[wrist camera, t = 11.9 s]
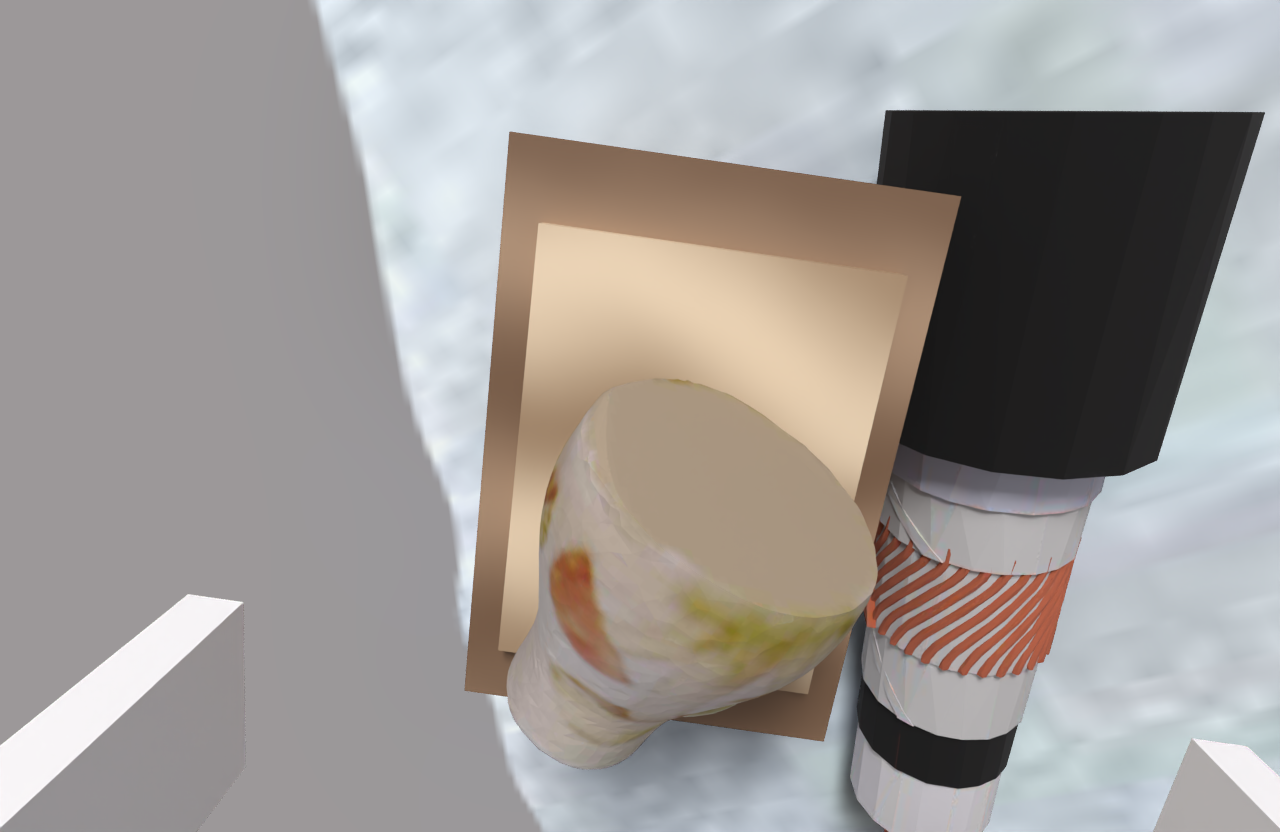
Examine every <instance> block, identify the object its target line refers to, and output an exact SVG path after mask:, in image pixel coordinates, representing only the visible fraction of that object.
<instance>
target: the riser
mask: <svg viewBox="0 0 1280 832" xmlns="http://www.w3.org/2000/svg"><path fill="white" fill-rule="evenodd" d="M960 200H961V196H955V195H948V194H941V193H934V192H927V191H920V190H913V189H906V188H899V187H892V186H885V185H878V184H871V183H864V182H857V181H850V180H843V179H836V178H829V177H822V176H815V175H809V174H802V173H795V172H788V171H781V170H774V169H767V168H760V167H753V166H746V165H739V164H732V163H725V162H718V161H711V160H704V159H697V158H690V157H683V156H676V155H669V154H662V153H655V152H648V151H641V150H634V149H627V148H620V147H613V146H606V145H600V144H593V143H586V142H579V141H572V140H565V139H558V138H551V137H544V136H537V135H530V134H523V133H516V132H509V145H508V157H507V169H506V182H505V194H504V207H503V219H502V232H501V244H500V256H499V269H498V281H497V294H496V306H495V319H494V331H493V343H492V356H491V368H490V381H489V393H488V406H487V418H486V430H485V443H484V455H483V468H482V480H481V493H480V505H479V517H478V530H477V542H476V555H475V567H474V580H473V592H472V604H471V617H470V629H469V642H468V654H467V667H466V679H465V691H471V692H478V693H485V694H492V695H499V696H506V697H508V695H507V676H508V670H509V667H510V665H511V662H512V660H513V658H514V656H515V654H516V652H517V650H518V648H519V647H520V645H521V644H522V642H523V641H524V639H525V638H526V636H527V635H528V633H529V631H530V629H531V627H532V625H533V624H534V621H535V618H536V615H537V612H538V604H539V535H540V522H541V515H542V509H543V504H544V499H545V495H546V490H547V487H548V483H549V480H550V477H551V474H552V471H553V469H554V466H555V464H556V461H557V459H558V457H559V455H560V453H561V451H562V449H563V447H564V446H565V444H566V442H567V441H568V439H569V437H570V436H571V434H572V433H573V432H574V430H575V429H576V427H577V426H578V425H579V423H580V422H581V420H582V419H583V417H584V416H585V414H586V413H587V411H588V410H589V409H590V408H591V406H592V405H593V404H594V403H595V401H596V400H597V399H598V398H599V397H600V396H601V395H602V394H603V393H604V392H605V391H607V390H609V389H611V388H612V387H616V386H620V385H624V384H627V383H631V382H636V381H643V380H649V379H655V378H662V379H679V380H682V381H686V380H689V381H691V382H692V383H697V384H702V385H705V386H707V387H710V388H713V389H716V390H718V391H721V392H724V393H727V394H729V395H731V396H733V397H735V398H737V399H738V400H740V401H742V402H744V403H745V404H747V405H749V406H750V407H752V408H754V409H755V410H757V411H758V412H760V413H761V414H763V415H764V416H766V417H767V418H768V419H770V420H771V421H772V422H773V423H775V424H776V425H777V426H778V427H780V428H781V429H782V430H784V431H785V432H786V433H788V434H789V435H791V436H792V437H794V438H795V439H797V440H798V441H799V442H801V443H802V444H803V445H805V446H806V447H807V448H808V450H809V451H811V452H812V453H813V454H814V455H815V456H816V457H817V458H818V459H819V460H820V461H821V462H822V463H823V464H824V465H825V466H826V467H827V468H828V469H829V470H830V471H831V472H832V474H833V475H834V476H835V478H836V479H837V480H838V482H839V483H840V484H841V486H842V487H843V488H844V489H845V490H846V492H847V493H848V494H849V496H850V497H851V498H852V499H853V501H854V502H855V503H856V504H857V506H858V507H859V509H860V511H861V513H862V515H863V517H864V519H865V522H866V524H867V527H868V529H869V531H870V534H871V537H872V540H873V543H874V540H875V536H876V532H877V528H878V524H879V520H880V516H881V512H882V508H883V504H884V500H885V497H886V493H887V489H888V485H889V481H890V477H891V473H892V469H893V465H894V461H895V457H896V453H897V449H898V445H899V441H900V437H901V433H902V429H903V425H904V421H905V417H906V413H907V409H908V405H909V401H910V398H911V394H912V390H913V386H914V382H915V378H916V374H917V370H918V366H919V362H920V358H921V354H922V350H923V346H924V342H925V338H926V334H927V330H928V326H929V322H930V318H931V314H932V310H933V306H934V302H935V299H936V295H937V291H938V287H939V283H940V279H941V275H942V271H943V267H944V263H945V259H946V255H947V251H948V247H949V243H950V239H951V235H952V231H953V227H954V223H955V219H956V215H957V211H958V207H959V204H960ZM851 631H852V629H851ZM851 631H850V632H849V633H848V634H847V636H846V637H845V638H844V639H843V640H842V642H841V643H840V644H839V645H838V646H837V647H836V648H835V649H834V650H833V651H832V652H831V653H830V654H829V655H828V656H827V657H826V658H825V659H824V660H823V661H821V662H820V663H819V664H818V665H817V666H816V667H815V668H814V669H812V670H811V671H809V672H808V673H806V674H805V675H803V676H802V677H800V678H798V679H797V680H795V681H793V682H791V683H789V684H788V685H786V686H784V687H782V688H780V689H778V690H776V691H773V692H771V693H768V694H766V695H763V696H761V697H758V698H755V699H751V700H748V701H744V702H741V703H737V704H736V705H734V706H732V707H730V708H728V709H725V710H722V711H720V712H717V713H714V714H709V715H702V716H694V717H679V718H675V719H671V720H676V721H683V722H690V723H697V724H704V725H711V726H718V727H725V728H732V729H739V730H746V731H753V732H760V733H767V734H774V735H782V736H789V737H796V738H803V739H810V740H817V741H824V738H825V734H826V730H827V726H828V722H829V718H830V714H831V710H832V706H833V702H834V698H835V695H836V691H837V687H838V683H839V679H840V675H841V671H842V667H843V663H844V659H845V655H846V651H847V647H848V643H849V639H850V635H851Z"/></svg>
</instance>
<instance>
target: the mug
mask: <svg viewBox="0 0 1280 832" xmlns="http://www.w3.org/2000/svg"><path fill="white" fill-rule="evenodd" d="M877 575H878V569H877V562H876V552H875V546H874V543H873V540H872V537H871V534H870V531H869V529H868V527H867V524H866V522H865V519H864V517H863V515H862V513H861V511H860V509H859V507H858V506H857V504H856V503H855V502H854V501H853V499H852V498H851V497H850V496H849V494H848V493H847V492H846V490H845V489H844V488H843V487H842V486H841V484H840V483H839V482H838V480H837V479H836V478H835V476H834V475H833V474H832V472H831V471H830V470H829V469H828V468H827V467H826V466H825V465H824V464H823V463H822V462H821V461H820V460H819V459H818V458H817V457H816V456H815V455H814V454H813V453H812V452H811V451H809V450H808V448H807V447H806V446H805V445H803V444H802V443H801V442H799V441H798V440H797V439H795V438H794V437H792V436H791V435H789V434H788V433H786V432H785V431H784V430H782V429H781V428H780V427H778V426H777V425H776V424H775V423H773V422H772V421H771V420H770V419H768V418H767V417H766V416H764V415H763V414H761V413H760V412H758V411H757V410H755V409H754V408H752V407H750V406H749V405H747V404H745V403H744V402H742V401H740V400H738V399H737V398H735V397H733V396H731V395H729V394H727V393H724V392H721V391H718V390H716V389H713V388H710V387H707V386H705V385H702V384H697V383H692V382H691V381H689V380H686V381H682V380H679V379H662V378H655V379H649V380H643V381H636V382H631V383H627V384H624V385H620V386H616V387H612V388H611V389H609V390H607V391H605V392H604V393H603V394H602V395H601V396H600V397H599V398H598V399H597V400H596V401H595V403H594V404H593V405H592V406H591V408H590V409H589V410H588V411H587V413H586V414H585V416H584V417H583V419H582V420H581V422H580V423H579V425H578V426H577V427H576V429H575V430H574V432H573V433H572V434H571V436H570V437H569V439H568V441H567V442H566V444H565V446H564V447H563V449H562V451H561V453H560V455H559V457H558V459H557V461H556V464H555V466H554V469H553V471H552V474H551V477H550V480H549V483H548V487H547V490H546V495H545V499H544V504H543V509H542V515H541V522H540V535H539V604H538V612H537V615H536V618H535V621H534V624H533V625H532V627H531V629H530V631H529V633H528V635H527V636H526V638H525V639H524V641H523V642H522V644H521V645H520V647H519V648H518V650H517V652H516V654H515V656H514V658H513V660H512V662H511V665H510V667H509V670H508V676H507V695H508V704H509V708H510V711H511V713H512V716H513V718H514V720H515V722H516V723H517V725H518V726H519V728H520V729H521V730H522V732H523V733H524V734H525V735H526V736H527V737H528V738H529V739H530V740H531V741H532V743H533V744H534V745H535V746H536V747H537V748H538V749H539V750H541V751H542V752H544V753H545V754H547V755H549V756H550V757H552V758H553V759H555V760H557V761H558V762H560V763H562V764H565V765H568V766H571V767H574V768H578V769H603V768H608V767H611V766H613V765H616V764H618V763H620V762H622V761H623V760H625V759H627V758H628V757H629V756H630V755H631V754H633V753H634V752H635V751H636V750H637V749H638V748H639V746H640V745H641V744H642V743H643V742H644V741H645V740H646V739H647V738H648V737H649V736H650V735H651V734H652V733H653V732H654V731H655V730H656V729H657V728H658V727H659V726H661V725H662V724H663V723H664V722H666V721H669V720H671V719H675V718H679V717H694V716H702V715H709V714H714V713H717V712H720V711H722V710H725V709H728V708H730V707H732V706H734V705H736V704H737V703H741V702H744V701H748V700H751V699H755V698H758V697H761V696H763V695H766V694H768V693H771V692H773V691H776V690H778V689H780V688H782V687H784V686H786V685H788V684H789V683H791V682H793V681H795V680H797V679H798V678H800V677H802V676H803V675H805V674H806V673H808V672H809V671H811V670H812V669H814V668H815V667H816V666H817V665H818V664H819V663H820V662H821V661H823V660H824V659H825V658H826V657H827V656H828V655H829V654H830V653H831V652H832V651H833V650H834V649H835V648H836V647H837V646H838V645H839V644H840V643H841V642H842V640H843V639H844V638H845V637H846V636H847V634H848V633H849V632H850V631H851V629H852V627H853V626H854V624H855V623H856V621H857V620H858V618H859V616H860V615H861V614H862V612H863V610H864V608H865V607H866V605H867V604H868V602H869V600H870V597H871V595H872V593H873V590H874V588H875V585H876V581H877Z"/></svg>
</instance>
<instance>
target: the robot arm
mask: <svg viewBox="0 0 1280 832" xmlns="http://www.w3.org/2000/svg"><path fill="white" fill-rule="evenodd" d="M243 611H244V604H243V602H238V601H232V600H224V599H218V598H210V597H203V596H197V595H189V594H188V595H187V596H186V597H184V598H183V599H182V600H180V601H179V602H178V603H177V604H175V606H173V607H172V608H171V609H169V610H168V611H167V612H166V613H165V614H163V615H162V616H161V617H159V618H158V619H157V620H156V621H154V622H153V623H152V624H151V625H150V626H148V627H147V628H146V629H144V630H143V631H142V632H141V633H139V634H138V635H137V636H136V637H135V638H133V639H132V640H131V641H130V642H128V643H127V644H126V645H125V646H123V647H122V648H121V649H120V650H119V651H117V652H116V653H115V654H113V655H112V656H111V657H110V658H108V659H107V660H106V661H105V662H104V663H102V664H101V665H100V666H98V667H97V668H96V669H95V670H94V671H92V672H91V673H90V674H89V675H87V676H86V677H85V678H84V679H82V680H81V681H80V682H79V683H77V684H76V685H75V686H74V687H72V688H71V689H70V690H69V691H67V692H66V693H65V694H64V695H63V696H61V697H60V698H59V699H58V700H56V701H55V702H54V703H53V704H51V705H50V706H49V707H48V708H46V709H45V710H44V711H43V712H41V713H40V714H39V715H38V716H36V717H35V718H34V719H33V720H32V721H30V722H29V723H28V724H26V725H25V726H24V727H23V728H22V729H20V730H19V731H18V732H17V733H15V734H14V735H13V736H12V737H10V738H9V739H8V740H7V741H6V742H4V743H3V744H2V745H0V832H197V831H198V830H199V828H200V827H201V826H202V824H203V823H204V822H205V820H206V819H207V818H208V816H209V815H210V814H211V812H212V811H213V809H214V808H215V807H216V806H217V804H218V803H219V802H220V800H221V799H222V798H223V796H224V795H225V794H226V793H227V791H228V790H229V788H230V787H231V786H232V785H233V783H234V782H235V780H236V779H237V778H238V777H239V775H240V774H241V773H242V771H243V770H244V769H245V767H246V748H245V683H244V681H245V679H244V678H245V676H244V612H243ZM1153 832H1280V777H1279V776H1278V775H1277V774H1276V773H1275V772H1274V771H1273V770H1272V769H1271V768H1270V767H1269V766H1267V765H1266V764H1265V763H1264V762H1263V761H1262V760H1261V759H1260V758H1259V757H1258V756H1257V755H1256V754H1255V753H1254V752H1253V751H1251V750H1250V749H1249V748H1248V747H1247V746H1241V745H1234V744H1227V743H1220V742H1213V741H1206V740H1199V739H1191V741H1190V744H1189V746H1188V749H1187V751H1186V753H1185V756H1184V758H1183V761H1182V763H1181V766H1180V768H1179V770H1178V773H1177V775H1176V778H1175V780H1174V782H1173V785H1172V787H1171V790H1170V792H1169V795H1168V797H1167V799H1166V802H1165V804H1164V807H1163V809H1162V812H1161V814H1160V816H1159V819H1158V821H1157V824H1156V826H1155V828H1154V831H1153Z"/></svg>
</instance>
